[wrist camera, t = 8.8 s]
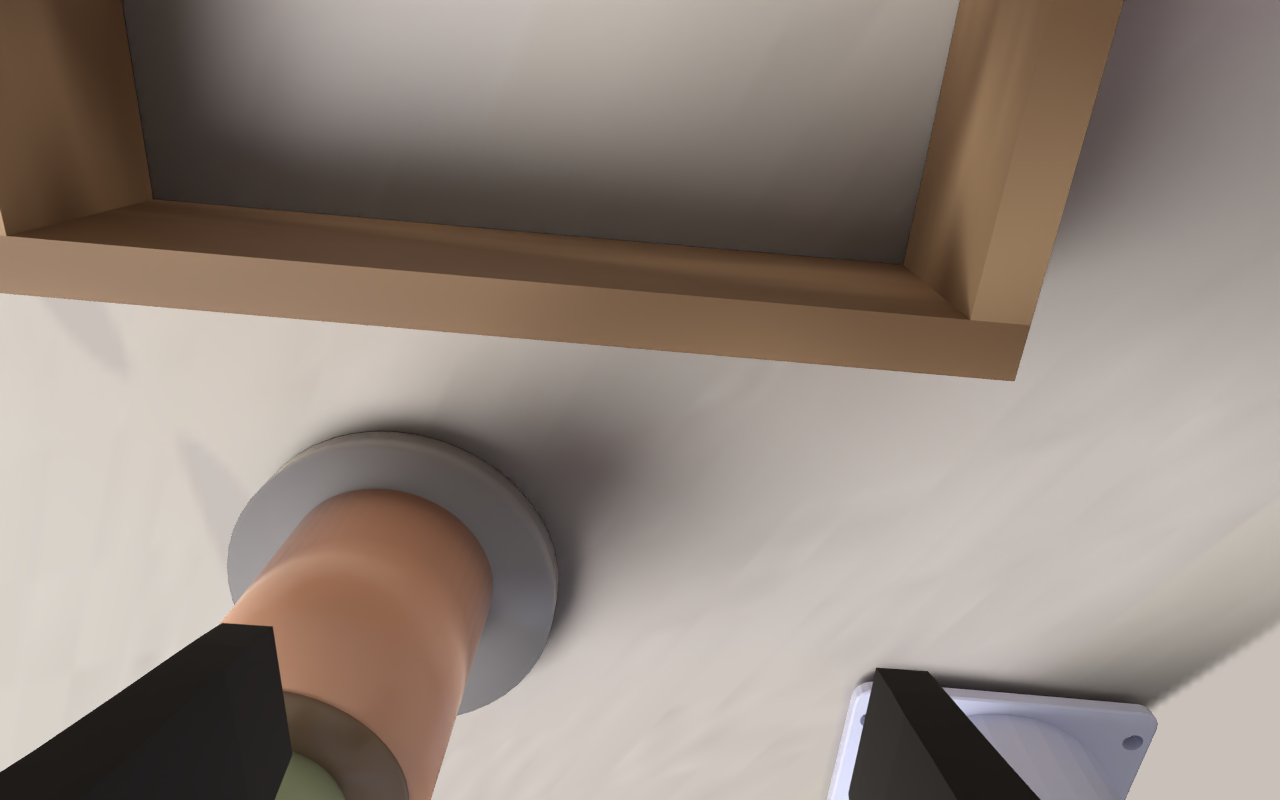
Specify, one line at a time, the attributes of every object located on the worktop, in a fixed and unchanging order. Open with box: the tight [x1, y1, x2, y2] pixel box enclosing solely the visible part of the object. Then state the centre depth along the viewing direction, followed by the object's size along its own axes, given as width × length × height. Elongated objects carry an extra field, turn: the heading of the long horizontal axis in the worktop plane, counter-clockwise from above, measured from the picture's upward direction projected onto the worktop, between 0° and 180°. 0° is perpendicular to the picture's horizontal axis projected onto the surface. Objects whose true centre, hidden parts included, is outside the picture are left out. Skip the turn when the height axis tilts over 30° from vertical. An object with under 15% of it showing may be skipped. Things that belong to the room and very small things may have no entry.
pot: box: [219, 489, 493, 800], centre depth 15 cm, size 5×5×9 cm
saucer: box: [227, 431, 558, 715], centre depth 20 cm, size 8×8×1 cm
